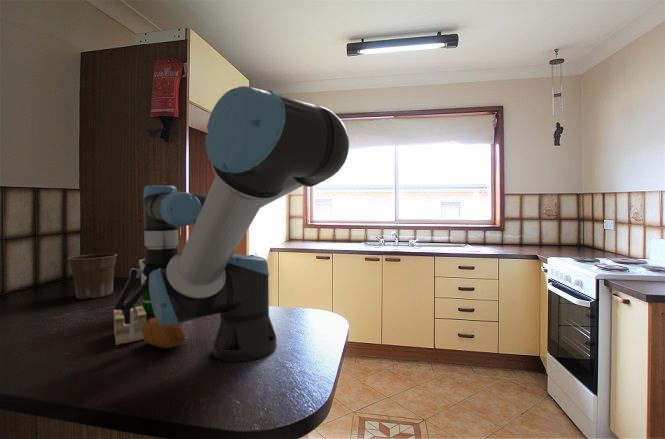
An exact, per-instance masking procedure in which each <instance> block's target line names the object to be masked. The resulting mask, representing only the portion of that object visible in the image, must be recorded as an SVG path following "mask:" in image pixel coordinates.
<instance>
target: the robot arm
mask: <svg viewBox="0 0 665 439" xmlns="http://www.w3.org/2000/svg"><path fill="white" fill-rule="evenodd" d="M206 129H207V130H208V131H207V134H205V149H206V155H207V157H208V159H209V162H210V163H211V167H212V170H213V173H214V174H215V176H214V180H213V182H212V184H211V185H210V189H209V191H208V193H207V192H206V193H205V192H203V193H202V192H200V193H199V192H186V191H178V189H177V187H176V186H174V185H168V184H167V185H165V184H152V185H150V184H148V185H146V186H144V188H143V197H142V202H143V223H144V224H143V225H144V226H143V228H144V246H145V249H144V259H145V267H144V269H140V268H135V267H132V268H130V270H129V278H128V279H127V281H126V282H125V285H124V287H123V288H122V291H121V292H120V294H119V296H118V298H117V300H116V301H115V304H114V310H122V312H123V316H124V323H125V325H126V324H130V337H131V338H134V314H135V311H134V308H133V307H134V306H135V304H136V303H138V301H139V300H140V298H142V295H143V294H144V293H145V292H146V290H147V289H148V288H149V292H150V299H151V304H152V308H153V312H154V314H153V315H154V316H155V317H154V318H156V319H157V321H158V322H159V323H160V324H161V325H163V326H168V325H173V324H178V325H180V324H182V323H186V322H188V323H189V325H190V327H195V320H199V319H202V318H207V317H211V316H214V315H217V314H219V323H218V325H217V329H216V331H215V334H214V339H213V341H212V342H213V343H212V355H213V357H214V358H216V359H218V360H220V361H223V362H230V363H243V362H249V361H250V362H251V361H256V360H260V359H262V358H265V357H266V356H268V355H270V354H272V353H273V352H275V350H276V348H277V335H276V331H275V329H274V325H273V322H272V320H271V317H270V310H269V308H270V306H269V305H270V300H269V297H270V293H269V292H270V291H269V289H270V288H269V287H270V286H269V283H270V282H269V277H270V272H269V263H268V261H267V259H266V258H264V257H262V256H258V255H257V256H256V255H247V254H234V253H235V252H236V250H237V249H238V247H239V245H240V243H241V241H242V239H243V238H244V236H245V235H246V233H247V232H248V229H249V228H250V226H251V225H252V222H254V219H255V218H256V216H257V214H258V212H259V210H260V209H261V208H263V207H265V206H267V205H268V204H271V203H272V202H274V201H276V200H278V199H281V198H283V197H285V196H286V195H289V194H290V193H292V192H293V191H296V190H297V189H300V188H301V187H306V188H308V187H309V188H310V187H315V186H316V185H318V184H321V183H322V182H325V181H326V180H329V179H331V178H332V177H333V176H335V175H336V174H338V172H339V171H340V170H341V169H342V167H343V166H344V164H345V162H346V160H347V158H348V155H349V150H350V140H349V135H348V134H349V133H348V131H347V129H346V126H345V124H344V123H343V121H342V120H341V119H340V117H338V115H337V114H336V113H334V112H333V111H331V110H330V109H328V108H326V107H324V106H321V105H318V104H313V103H309V102H306V101H303V100H299V99H295V98H293V97H289V96H285V95H282V94H278V93H276V92H275V91H273V90H270V89H266V88H256V87H252V86H246V85H241V86H237V87H234V88H231V89H230V90H227V91H226V92H225V93H224V94H222V96H220V97H219V99H218V100H217V102H216V103H215V105H214V107H213V108H212V110H211V113H210V115H209V118H208V120H207V125H206ZM192 225H193V227H192V229H191V232H190V234H189V236H188V238H187V241H186V242H185V245H184V246H183V249H182V251H181V252H179V248H178V245H179V227H187V226H192ZM141 274H144V275H145V276H146V277H147V279H146V280H145V281H144V282H143V284H142V283H141V285H140V286H139V288H138V289H137V290H136V291H135V292H134V293H133V295H131V297H130V298H129V299H128V300H127V301H126V299H127V298H128V296H129V294H130V292H131V290H132V288H133V286H134V285H135V283H136V280H137V279H138V278H140V276H141ZM125 301H126V303H125Z"/></svg>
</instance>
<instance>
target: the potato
mask: <svg viewBox="0 0 665 439" xmlns="http://www.w3.org/2000/svg"><path fill="white" fill-rule="evenodd" d="M142 333H143V337H144V339H143V340H144V341H146V342H147V343H148V344H149V345H150V346H156V347H157V348H161V349H162V348H163V349H172V348H175V347H176V346H178V345H181V344H182V343H183V341H184V340H185V337H186V333H185V331H184V329H183V328H182V327H181V326H180V324H173V325H168V326H163V325H161V324H160V323H159V322H158V321H157V319H156V317H153V318H151V319H149V320H147V322H146V323H145V325H144V327H143V332H142Z"/></svg>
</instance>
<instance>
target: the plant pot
mask: <svg viewBox="0 0 665 439" xmlns="http://www.w3.org/2000/svg"><path fill="white" fill-rule="evenodd" d="M117 256H118V254H117V253H96V254H94V253H91V254H83V255H76V256H70V257H68V258H67V261H69V267H70V269H71V273H72V279H73V284H74V285H73V286H74V291H75V293H74V294H75V298H76V299H78V300H88V299H89V298H90V299H97V298H105V297H107V296H110V295H112V294H114V280H115V279H114V278H115V277H114V276H115V266H116V263H117V262H116V259H117Z"/></svg>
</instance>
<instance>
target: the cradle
mask: <svg viewBox="0 0 665 439" xmlns="http://www.w3.org/2000/svg"><path fill="white" fill-rule="evenodd" d="M134 308H135V311H134V338H131V337H130V324H126V325H125V323H124V313H123V311H122V310H116V309H113V329H114V330H113V332H114V340H115V345H116V346H117V345H122V344H127V343H131V342H135V341H140V340H144V337H143V333H142V332H143V327H144V325H145V323H146V322H148V320H147V317H148V316H147V314H146V312H145V310H144V308H143V306H142V305H139V306H135V307H134Z"/></svg>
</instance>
